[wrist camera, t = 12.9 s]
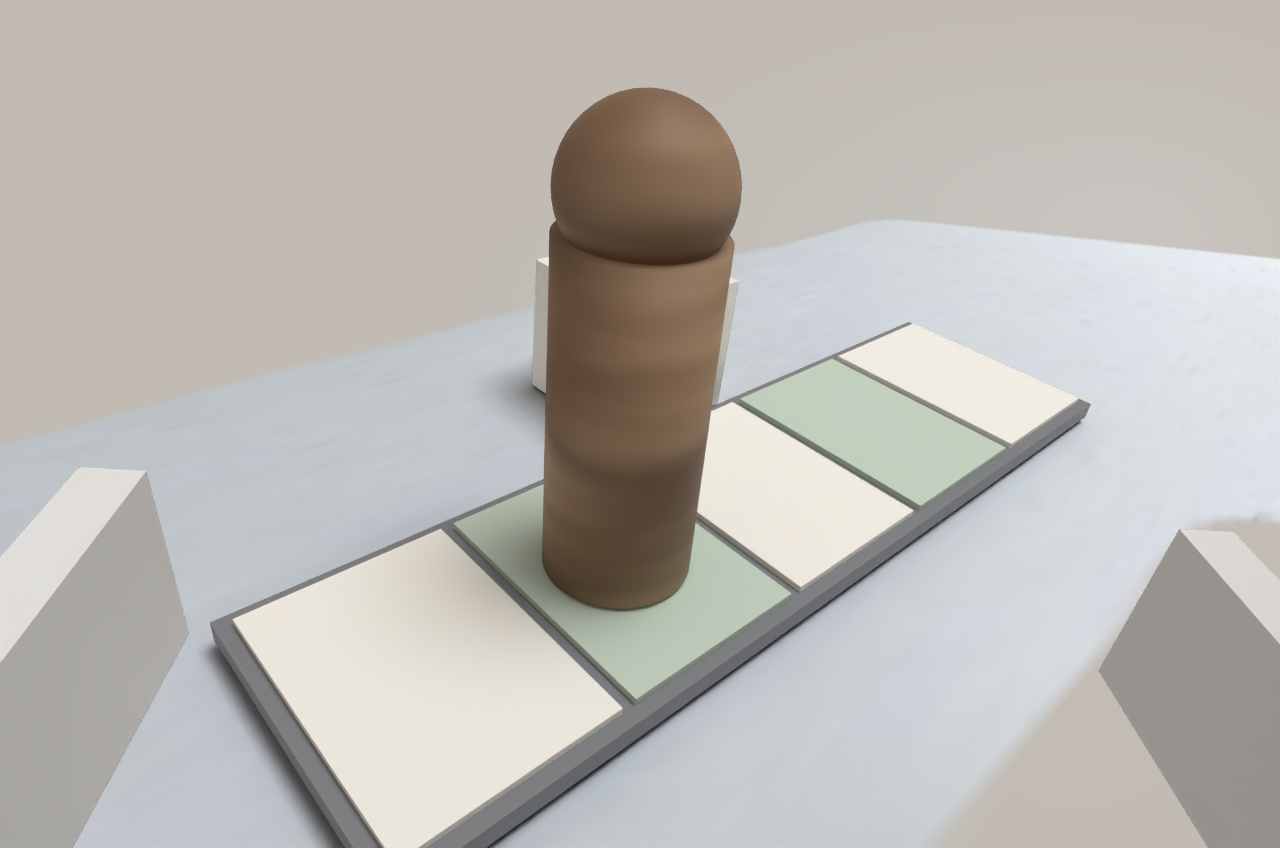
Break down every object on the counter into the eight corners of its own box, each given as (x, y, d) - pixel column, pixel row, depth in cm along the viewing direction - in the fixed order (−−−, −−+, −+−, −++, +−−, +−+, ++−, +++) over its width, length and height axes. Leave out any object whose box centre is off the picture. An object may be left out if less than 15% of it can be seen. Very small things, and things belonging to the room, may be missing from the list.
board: (1085, 416, 34) (1092, 399, 34) (388, 917, 16) (385, 894, 15) (905, 333, 39) (910, 318, 38) (214, 640, 21) (208, 616, 20)
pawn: (720, 567, 23) (796, 102, 17) (605, 631, 21) (644, 119, 14) (625, 495, 26) (661, 67, 19) (512, 544, 23) (512, 76, 17)
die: (718, 402, 32) (740, 278, 30) (619, 445, 29) (634, 312, 27) (630, 349, 35) (642, 232, 33) (532, 384, 32) (536, 257, 29)
